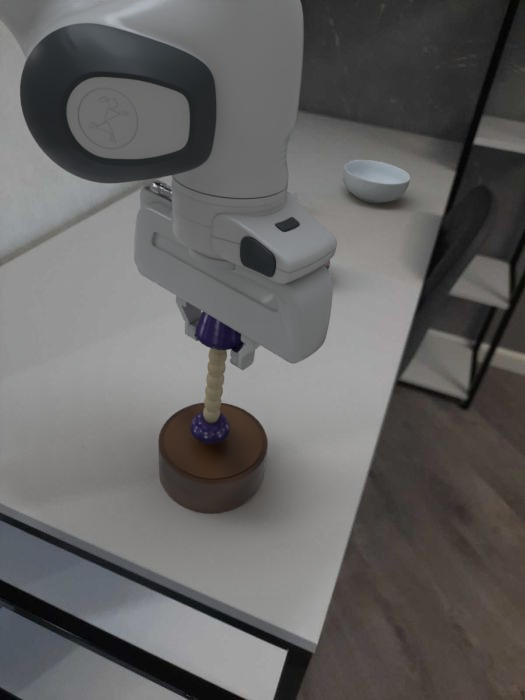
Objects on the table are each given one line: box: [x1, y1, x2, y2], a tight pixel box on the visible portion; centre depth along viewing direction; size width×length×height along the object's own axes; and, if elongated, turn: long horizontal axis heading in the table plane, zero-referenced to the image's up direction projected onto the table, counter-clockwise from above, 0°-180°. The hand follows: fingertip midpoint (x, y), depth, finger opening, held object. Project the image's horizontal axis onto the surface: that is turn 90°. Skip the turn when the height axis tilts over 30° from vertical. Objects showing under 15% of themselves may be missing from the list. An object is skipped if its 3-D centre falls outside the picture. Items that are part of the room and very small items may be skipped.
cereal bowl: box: [342, 159, 411, 204], centre depth 132 cm, size 17×17×7 cm
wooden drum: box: [157, 402, 269, 514], centre depth 59 cm, size 12×12×5 cm
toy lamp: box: [191, 311, 242, 444], centre depth 51 cm, size 5×5×17 cm
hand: (218, 349), depth 50 cm, fingers closed on toy lamp, 4 cm apart
